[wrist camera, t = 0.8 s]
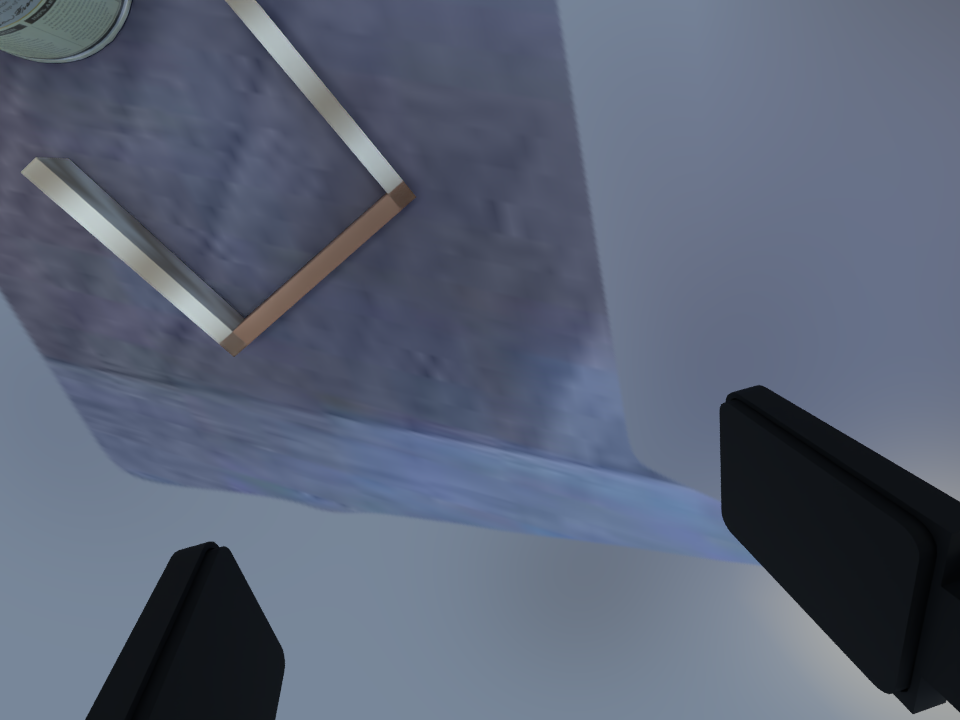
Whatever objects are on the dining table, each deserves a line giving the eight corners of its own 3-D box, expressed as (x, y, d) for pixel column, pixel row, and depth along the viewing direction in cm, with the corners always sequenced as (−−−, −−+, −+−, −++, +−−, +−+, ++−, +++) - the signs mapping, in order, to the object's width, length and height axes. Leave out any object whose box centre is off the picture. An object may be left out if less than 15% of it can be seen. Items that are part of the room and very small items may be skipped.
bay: (54, 172, 30) (20, 172, 27) (244, -13, 28) (229, -32, 25) (245, 342, 35) (234, 357, 32) (413, 194, 34) (416, 197, 31)
